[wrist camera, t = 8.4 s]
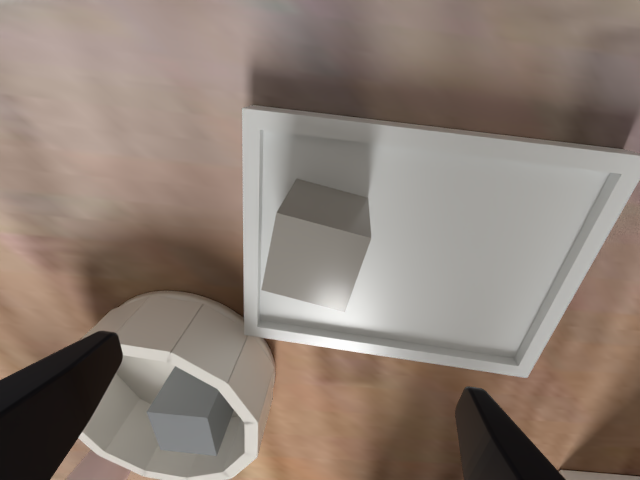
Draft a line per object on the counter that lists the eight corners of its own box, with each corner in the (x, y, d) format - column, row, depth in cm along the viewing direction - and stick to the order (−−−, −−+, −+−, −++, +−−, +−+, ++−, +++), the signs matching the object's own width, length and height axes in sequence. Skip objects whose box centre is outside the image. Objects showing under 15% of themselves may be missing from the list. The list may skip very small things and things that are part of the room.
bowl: (279, 306, 21) (259, 365, 17) (272, 428, 27) (256, 496, 22) (89, 278, 21) (22, 328, 17) (123, 403, 27) (79, 465, 23)
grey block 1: (239, 393, 24) (216, 456, 20) (192, 389, 24) (160, 450, 20) (233, 357, 22) (207, 417, 18) (183, 353, 23) (146, 411, 19)
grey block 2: (368, 197, 16) (371, 238, 12) (347, 259, 18) (344, 312, 14) (296, 178, 16) (276, 212, 12) (282, 241, 18) (261, 290, 14)
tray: (623, 149, 15) (652, 157, 13) (515, 357, 21) (527, 377, 19) (252, 105, 16) (242, 108, 14) (251, 317, 21) (244, 334, 20)
